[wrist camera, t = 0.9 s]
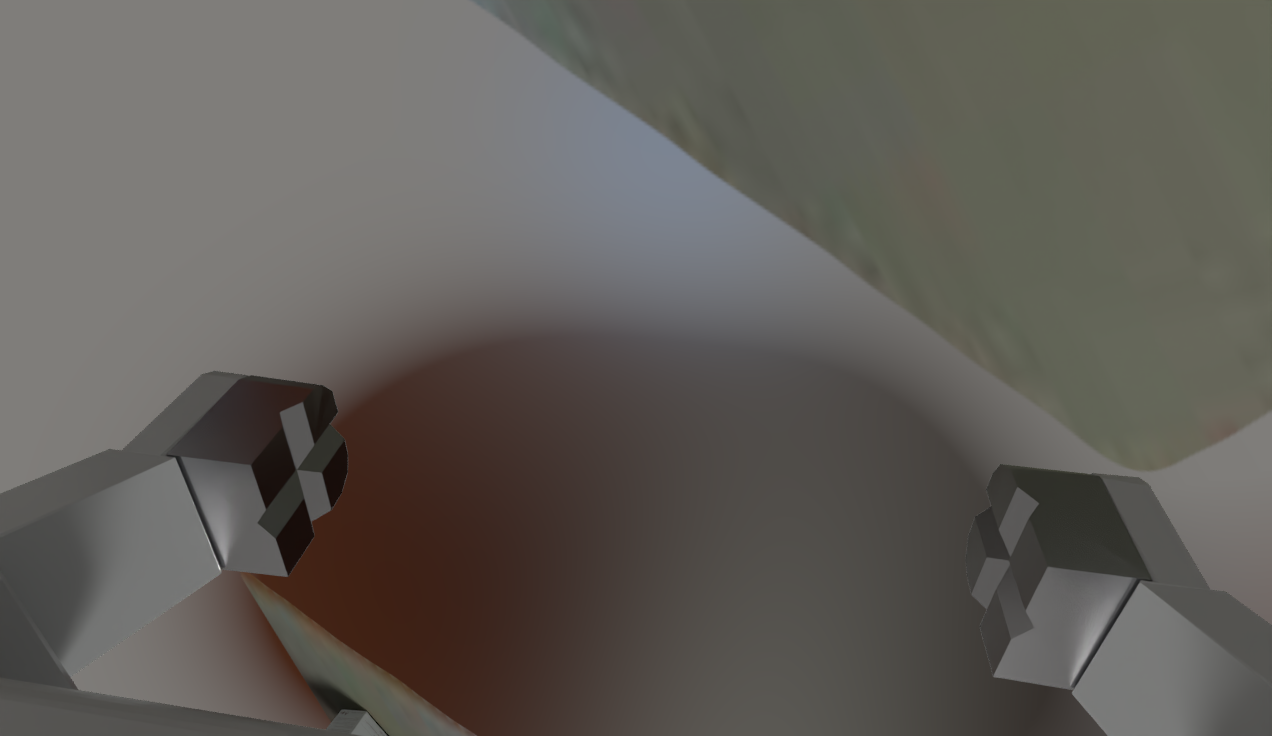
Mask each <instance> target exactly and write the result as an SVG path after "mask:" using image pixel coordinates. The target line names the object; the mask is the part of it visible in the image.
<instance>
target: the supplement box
mask: <svg viewBox="0 0 1272 736" xmlns="http://www.w3.org/2000/svg"><path fill="white" fill-rule="evenodd" d="M326 730H329V731H336V732H342V733H348V734H354V735H360V736H387V735H386V734H385V732H384V731H383V730H382V729H381V728H380V727H379V726H378V724H377V723H376V722H375V721H374V720H373V719H372V718H371V716H370V715H369V713H368V712H367V711H358V710H346V709H342V710H341V711H340V712H339V714H338V715H337V716H336V717H335V719H334V720H333V721H332V722H331V724H330V725H329V726H328V728H327V729H326Z"/></svg>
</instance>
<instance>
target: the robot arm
mask: <svg viewBox="0 0 1272 736" xmlns="http://www.w3.org/2000/svg"><path fill="white" fill-rule="evenodd" d="M337 413H338V409H337V406H336V403H335V399H334V395H333V392H332V391H331V390H330V389H328V388H327V387H325V386H323V385H317V384H310V383H303V382H296V381H289V380H281V379H274V378H267V377H260V376H252V375H251V376H247V375H242V374H234V373H226V372H218V371H213V372H209V373H205V374H202V375H201V376H200V377H199V378H198V379H196V380H195V381H194V382H193V383H192V384H191V385H190V386H189V387H188V388H187V389H186V390H185V391H184V392H183V393H182V394H181V395H179V396H178V397H177V398H176V399H175V400H174V401H173V402H172V403H171V404H170V405H169V406H168V407H167V408H166V409H165V410H164V411H163V412H162V413H160V415H158V417H156V418H155V419H154V420H153V421H152V422H151V423H150V424H149V425H148V426H147V427H146V428H145V429H144V430H143V431H142V432H140V433H139V434H138V435H137V436H136V437H135V438H134V439H133V440H132V441H131V442H130V443H129V444H128V445H127V446H126V447H125V448H124V449H123V450H112V449H108V450H106V451H104V452H101V453H99V454H96V455H94V456H92V457H89V458H86V459H84V460H82V461H79V462H77V463H74V464H72V465H69V466H67V467H64V468H62V469H60V470H57V471H55V472H52V473H50V474H47V475H45V476H43V477H40V478H38V479H35V480H33V481H30V482H28V483H25V484H23V485H20V486H18V487H16V488H13V489H11V490H9V491H6V492H3V493H1V494H0V736H360V735H354V734H348V733H342V732H336V731H329V730H323V729H317V728H310V727H304V726H298V725H292V724H286V723H280V722H273V721H267V720H261V719H254V718H249V717H242V716H236V715H229V714H224V713H217V712H210V711H205V710H199V709H192V708H186V707H180V706H174V705H167V704H161V703H155V702H149V701H142V700H136V699H130V698H124V697H117V696H112V695H105V694H99V693H93V692H86V691H81V690H78V688H77V687H76V685H75V684H74V682H73V681H72V679H71V678H70V677H71V676H73V675H74V674H76V673H77V672H78V671H80V670H81V669H83V668H84V667H86V666H87V665H89V664H90V663H92V662H93V661H95V660H96V659H98V658H99V657H100V656H102V655H103V654H105V653H106V652H107V651H109V650H111V649H112V648H114V647H115V646H116V645H118V644H119V643H121V642H122V641H124V640H125V639H127V638H128V637H129V636H131V635H132V634H134V633H135V632H137V631H138V630H139V629H141V628H143V627H144V626H145V625H147V624H148V623H150V622H151V621H153V620H154V619H156V618H157V617H159V616H160V615H161V614H163V613H164V612H166V611H167V610H169V609H170V608H172V607H173V606H175V605H176V604H177V603H179V602H180V601H182V600H183V599H185V598H186V597H188V596H189V595H190V594H192V593H193V592H195V591H196V590H198V589H199V588H201V587H202V586H203V585H205V584H206V583H208V582H209V581H211V580H212V579H213V578H215V577H217V576H218V575H220V574H221V569H223V570H232V571H241V572H250V573H259V574H268V575H277V576H286V577H288V576H289V575H290V573H291V571H292V570H293V569H294V567H295V565H296V564H297V562H298V561H299V559H300V558H301V556H302V555H303V553H304V552H305V550H306V548H307V547H308V545H309V544H310V542H311V541H312V539H313V538H314V532H313V527H312V522H311V521H313V520H315V519H317V518H318V517H320V516H321V515H324V514H325V513H327V512H329V511H331V510H332V508H333V507H334V505H335V503H336V502H337V500H338V498H339V497H340V495H341V493H342V490H343V487H344V483H345V480H346V476H347V473H348V452H347V448H346V443H345V439H344V438H343V437H342V436H341V435H340V434H339V433H338V432H337V431H336V430H335V429H334V428H333V427H332V426H331V425H330V423H331V422H332V421H333V419H334V418H335V416H336V415H337ZM986 491H987V494H988V497H989V500H990V504H991V507H989V508H988V509H986V510H985V511H983V512H982V513H980V514H978V515H977V516H975V518H974V521H973V524H972V527H971V530H970V533H969V535H968V541H967V551H966V571H967V579H968V583H969V587H970V591H971V595H972V596H973V597H974V598H976V600H977V601H978V602H979V603H981V604H982V605H983V606H984V607H985V608H986V609H987V611H986V613H985V615H984V617H983V620H982V622H981V624H980V629H981V633H982V637H983V641H984V645H985V648H986V652H987V656H988V659H989V663H990V666H991V670H992V674H993V676H994V677H999V678H1004V679H1011V680H1016V681H1022V682H1029V683H1034V684H1040V685H1046V686H1053V687H1058V688H1064V689H1070V690H1073V692H1072V694H1073V695H1074V696H1075V698H1076V699H1077V700H1078V701H1079V703H1080V704H1081V705H1082V706H1083V707H1084V708H1085V709H1086V711H1087V712H1088V713H1089V714H1090V715H1091V716H1092V718H1093V719H1094V720H1095V721H1096V722H1097V723H1098V725H1099V726H1100V727H1101V728H1102V729H1103V731H1104V732H1105V733H1106V734H1107V735H1108V736H1272V625H1271V624H1269V623H1268V622H1267V621H1265V620H1264V619H1263V618H1261V617H1260V616H1258V615H1257V614H1256V613H1254V612H1253V611H1251V610H1250V609H1249V608H1247V607H1246V606H1244V605H1243V604H1242V603H1240V602H1239V601H1238V600H1236V599H1235V598H1234V597H1232V596H1231V595H1230V594H1228V593H1227V592H1224V591H1217V590H1210V588H1209V586H1208V585H1207V583H1206V581H1205V580H1204V578H1203V576H1202V574H1201V573H1200V571H1199V569H1198V568H1197V566H1196V564H1195V563H1194V561H1193V559H1192V557H1191V556H1190V554H1189V552H1188V550H1187V549H1186V547H1185V546H1184V544H1183V542H1182V541H1181V539H1180V537H1179V535H1178V534H1177V532H1176V530H1175V528H1174V527H1173V525H1172V523H1171V522H1170V520H1169V518H1168V516H1167V515H1166V513H1165V511H1164V509H1163V508H1162V506H1161V504H1160V503H1159V501H1158V499H1157V497H1156V496H1155V494H1154V492H1153V491H1152V489H1151V487H1150V486H1149V484H1147V483H1146V482H1145V481H1143V480H1142V479H1140V478H1138V477H1128V476H1117V475H1106V474H1096V473H1092V474H1085V473H1075V472H1067V471H1057V470H1048V469H1039V468H1030V467H1021V466H1012V465H1003V464H1000V465H999V466H998V468H997V469H996V470H995V471H994V472H993V474H992V476H991V479H990V481H989V483H988V486H987V488H986Z"/></svg>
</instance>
